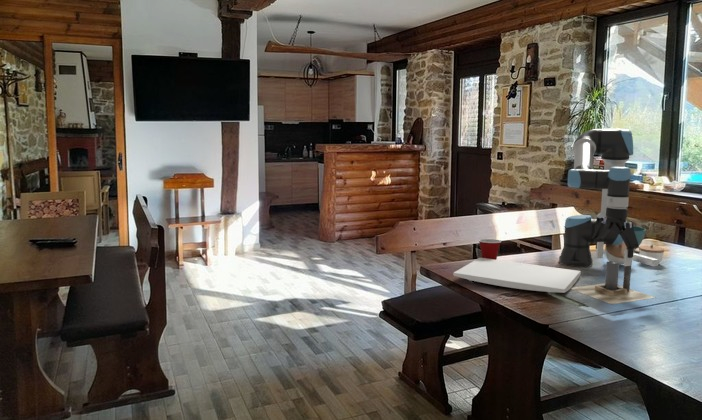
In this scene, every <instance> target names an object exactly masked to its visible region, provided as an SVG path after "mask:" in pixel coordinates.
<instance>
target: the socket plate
mask: <svg viewBox="0 0 702 420" xmlns="http://www.w3.org/2000/svg"><path fill="white" fill-rule="evenodd" d="M632 263H633V260H631V266H624V267H623V268H624V269H623V283H622V285H619V284H618V286H617V290H609V289H606V288H605V282H602V283H595V284H589V285H579V286H572V287H571V288H570V289H569V290H572V291H574V292H578V293H580V294H583V295H586V296H588V297H591V298H594V299H597V300H598V301H602V302H604V303H608V304H610V305H618V304H623V303H624V304H625V303H630V302H636V301H643V300H649V299H650V300H651V299H655V298H656V297H655V296H653V295H649V294H647V293H643V292H639V291H637V290H634V289H630V286H631V274H632Z"/></svg>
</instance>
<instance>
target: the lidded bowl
mask: <svg viewBox="0 0 702 420" xmlns="http://www.w3.org/2000/svg"><path fill="white" fill-rule="evenodd" d="M625 249H627V247H626V245H625V243H624V241H623V243H622V244H620V245H610V244H605V247H604V256H605V258H606V259H607V261H608V262H609V261H612V262H618V263H619V266H620V265H624V260H625V259H624V258H623V257H624V252H625ZM635 250H636V249H634V252H636V251H635Z"/></svg>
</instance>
